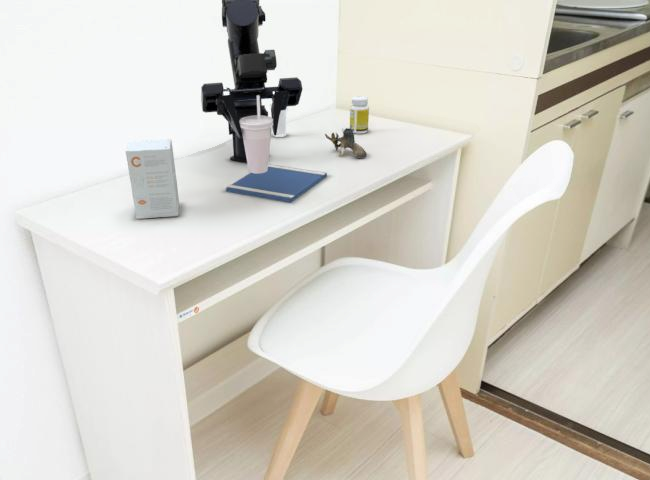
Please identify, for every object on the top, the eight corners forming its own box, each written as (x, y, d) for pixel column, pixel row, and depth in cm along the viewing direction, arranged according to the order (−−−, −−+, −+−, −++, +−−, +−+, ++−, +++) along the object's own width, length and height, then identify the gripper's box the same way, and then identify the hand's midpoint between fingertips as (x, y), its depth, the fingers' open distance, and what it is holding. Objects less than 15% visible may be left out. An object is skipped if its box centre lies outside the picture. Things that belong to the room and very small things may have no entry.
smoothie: (274, 175, 123) (272, 99, 115) (240, 176, 123) (236, 100, 115) (275, 164, 128) (273, 90, 120) (242, 164, 128) (238, 91, 121)
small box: (179, 204, 128) (172, 138, 121) (178, 216, 123) (171, 148, 116) (138, 207, 127) (128, 140, 120) (135, 219, 122) (125, 150, 115)
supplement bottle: (370, 130, 169) (372, 97, 164) (363, 135, 166) (364, 100, 161) (354, 128, 171) (355, 95, 167) (346, 132, 168) (347, 98, 163)
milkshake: (267, 138, 165) (266, 97, 160) (273, 132, 169) (272, 93, 164) (284, 139, 164) (284, 98, 158) (290, 133, 168) (290, 93, 163)
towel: (226, 191, 133) (225, 187, 133) (266, 167, 146) (266, 163, 146) (290, 202, 127) (290, 198, 127) (326, 176, 140) (326, 172, 139)
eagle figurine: (320, 151, 151) (350, 151, 145) (327, 121, 151) (358, 119, 145) (339, 162, 157) (369, 162, 151) (346, 133, 157) (376, 132, 151)
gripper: (197, 36, 114) (208, 116, 111) (300, 30, 117) (314, 108, 114) (197, 74, 125) (207, 148, 122) (291, 67, 128) (304, 140, 125)
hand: (257, 135), depth 121 cm, fingers closed on smoothie, 6 cm apart
